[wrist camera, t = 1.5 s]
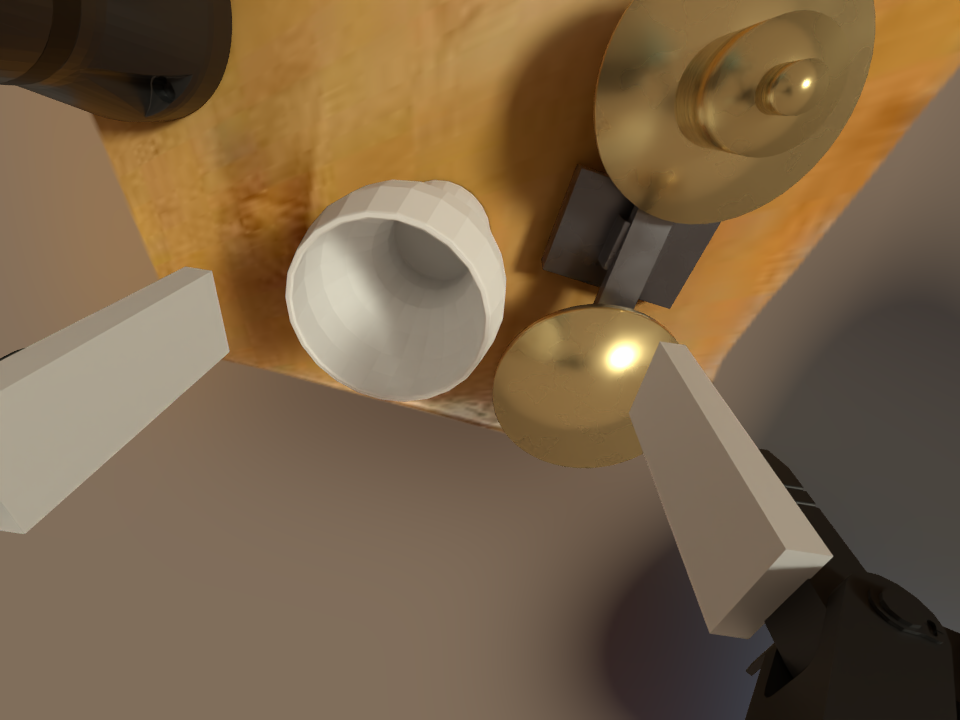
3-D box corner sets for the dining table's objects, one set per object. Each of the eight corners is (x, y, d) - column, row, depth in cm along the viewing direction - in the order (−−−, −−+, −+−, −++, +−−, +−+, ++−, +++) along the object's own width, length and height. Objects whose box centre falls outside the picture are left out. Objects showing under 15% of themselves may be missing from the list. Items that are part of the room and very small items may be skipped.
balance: (480, 376, 38) (465, 478, 28) (639, -82, 22) (751, -256, 12) (611, 413, 39) (646, 526, 29) (855, 2, 23) (1137, -88, 13)
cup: (386, 301, 35) (310, 412, 22) (357, 163, 30) (235, 204, 17) (512, 296, 34) (508, 410, 21) (506, 152, 28) (497, 187, 16)
